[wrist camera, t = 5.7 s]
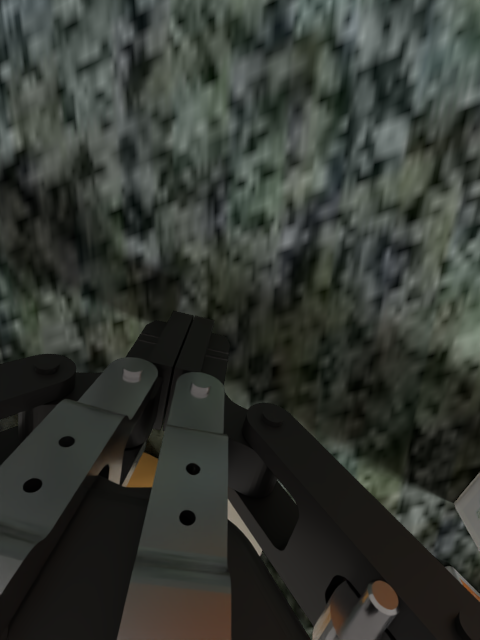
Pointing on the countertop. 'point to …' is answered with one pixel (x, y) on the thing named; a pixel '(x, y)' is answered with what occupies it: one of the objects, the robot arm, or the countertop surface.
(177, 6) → the countertop surface
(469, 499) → the syrup box
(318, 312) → the countertop surface
